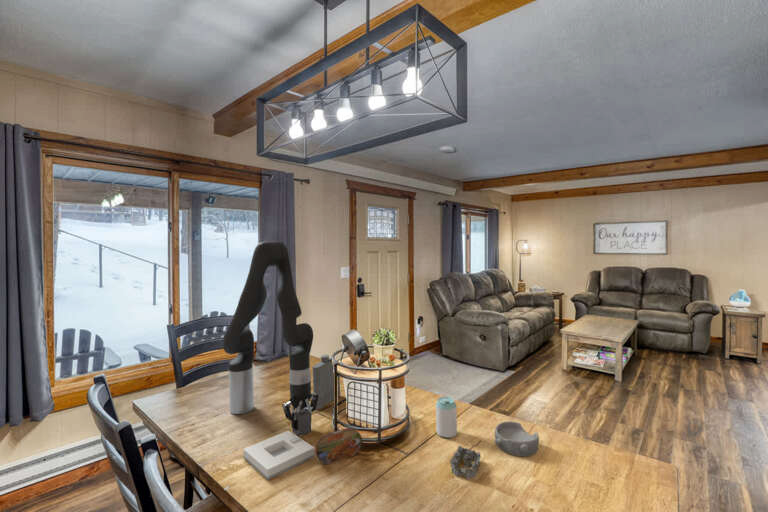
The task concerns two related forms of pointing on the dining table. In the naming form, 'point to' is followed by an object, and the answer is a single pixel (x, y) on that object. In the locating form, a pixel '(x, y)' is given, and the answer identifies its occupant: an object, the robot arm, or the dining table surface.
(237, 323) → the robot arm
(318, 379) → the hip flask
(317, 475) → the dining table surface
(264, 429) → the dining table surface
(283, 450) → the socket
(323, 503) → the dining table surface
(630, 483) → the dining table surface
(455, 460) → the grey jagged ring
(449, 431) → the can
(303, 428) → the plug
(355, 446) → the tin
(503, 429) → the dish
